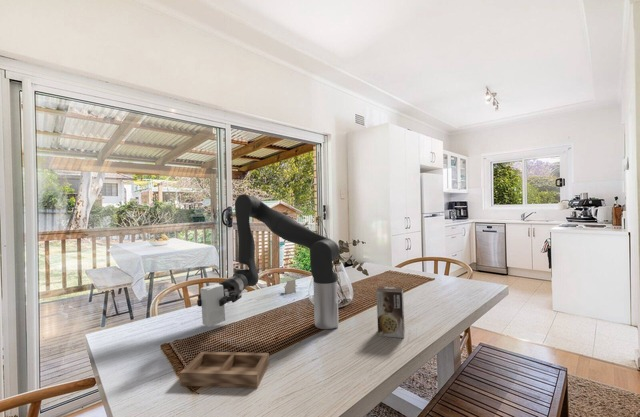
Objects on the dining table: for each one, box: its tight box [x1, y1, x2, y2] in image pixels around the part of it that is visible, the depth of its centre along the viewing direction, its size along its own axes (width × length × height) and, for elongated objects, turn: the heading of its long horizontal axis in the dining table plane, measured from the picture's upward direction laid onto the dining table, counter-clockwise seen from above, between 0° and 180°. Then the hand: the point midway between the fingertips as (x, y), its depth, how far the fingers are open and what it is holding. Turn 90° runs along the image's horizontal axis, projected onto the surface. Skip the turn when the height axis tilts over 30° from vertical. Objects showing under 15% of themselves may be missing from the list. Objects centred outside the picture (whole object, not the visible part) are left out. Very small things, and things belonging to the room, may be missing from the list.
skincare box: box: [200, 283, 226, 327], centre depth 99 cm, size 6×4×12 cm
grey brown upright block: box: [375, 285, 406, 339], centre depth 108 cm, size 9×6×16 cm
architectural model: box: [283, 279, 298, 295], centre depth 164 cm, size 3×7×7 cm, turn 128°
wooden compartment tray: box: [179, 351, 270, 389], centre depth 85 cm, size 21×12×4 cm, turn 84°
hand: (209, 303), depth 96 cm, fingers closed on skincare box, 6 cm apart
